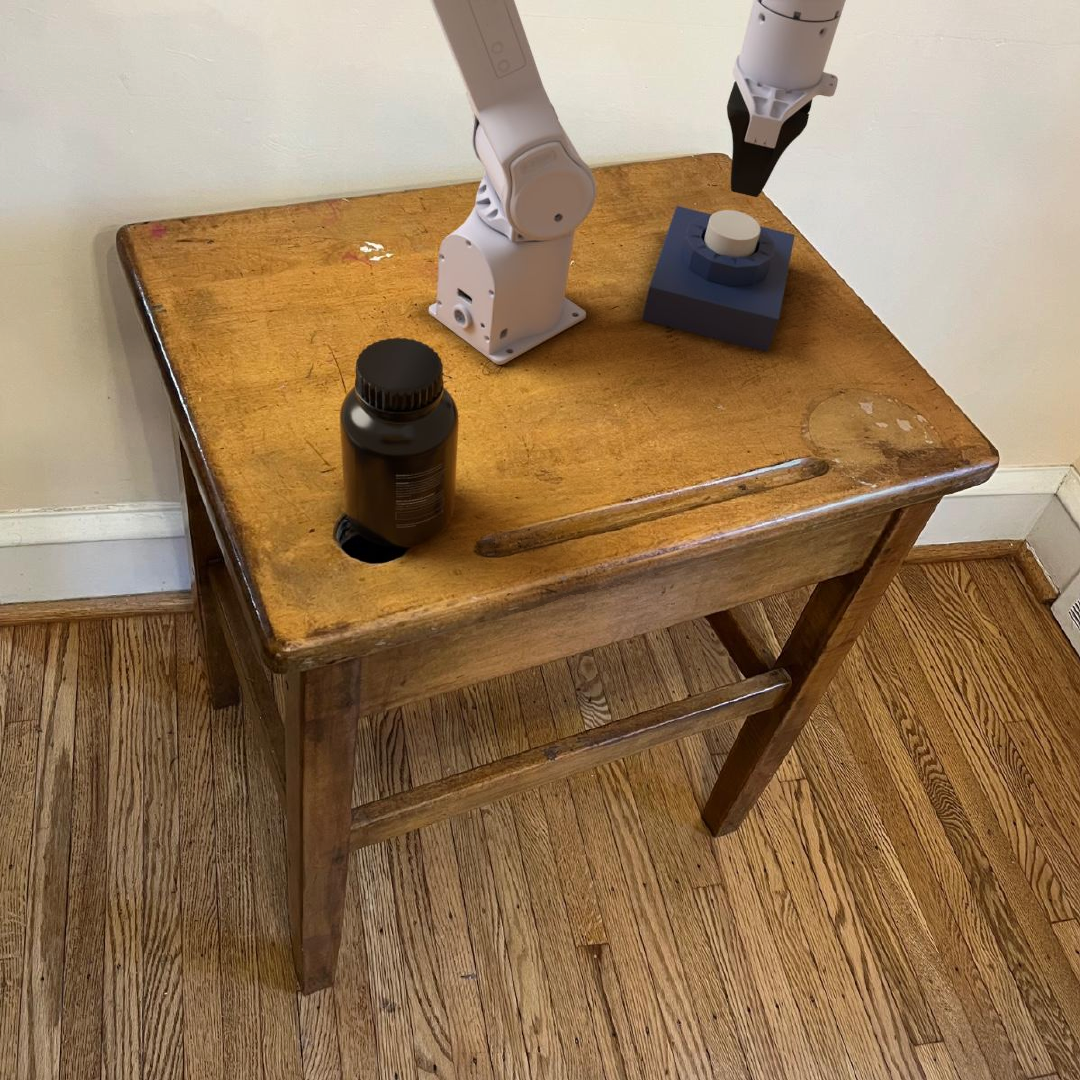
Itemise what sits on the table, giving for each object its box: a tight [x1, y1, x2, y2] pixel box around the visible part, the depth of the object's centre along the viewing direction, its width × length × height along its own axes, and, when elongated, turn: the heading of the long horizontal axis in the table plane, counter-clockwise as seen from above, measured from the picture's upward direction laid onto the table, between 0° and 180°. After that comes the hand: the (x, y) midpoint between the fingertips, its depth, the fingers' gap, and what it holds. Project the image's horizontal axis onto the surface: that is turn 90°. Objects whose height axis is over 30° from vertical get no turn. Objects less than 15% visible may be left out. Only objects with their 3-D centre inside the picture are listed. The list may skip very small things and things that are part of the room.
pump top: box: [704, 209, 761, 258], centre depth 83 cm, size 4×4×2 cm
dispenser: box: [641, 205, 796, 353], centre depth 85 cm, size 12×10×5 cm
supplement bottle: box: [339, 337, 460, 549], centre depth 63 cm, size 7×7×12 cm
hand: (745, 189), depth 80 cm, fingers closed
